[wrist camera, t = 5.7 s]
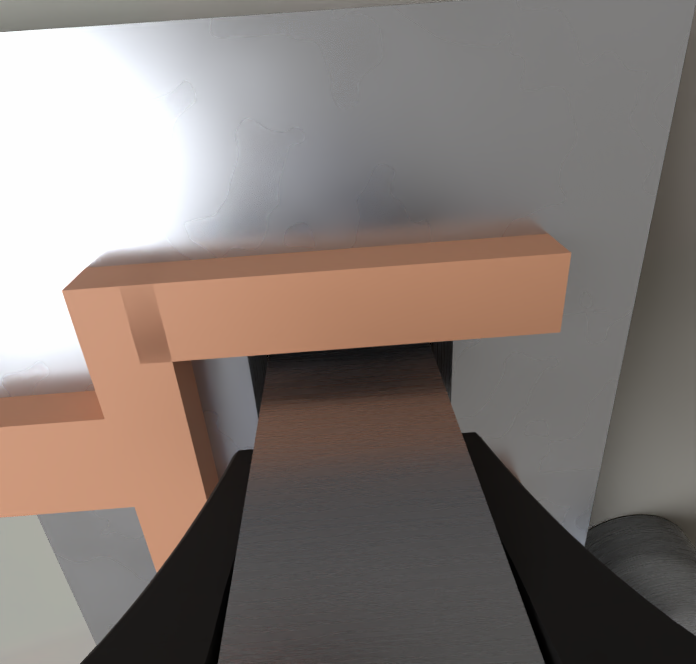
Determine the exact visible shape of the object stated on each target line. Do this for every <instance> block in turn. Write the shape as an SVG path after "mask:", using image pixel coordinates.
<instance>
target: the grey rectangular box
mask: <svg viewBox="0 0 696 664" xmlns="http://www.w3.org/2000/svg"><path fill="white" fill-rule="evenodd" d="M218 664H545V663H544V660H543V657H542V654H541V652H540V649H539V646H538V643H537V640H536V638H535V635H534V632H533V629H532V627H531V624H530V621H529V618H528V616H527V613H526V610H525V607H524V604H523V602H522V599H521V596H520V593H519V591H518V588H517V585H516V582H515V580H514V577H513V574H512V571H511V568H510V566H509V563H508V560H507V557H506V555H505V552H504V549H503V546H502V544H501V541H500V538H499V535H498V532H497V530H496V527H495V524H494V521H493V519H492V516H491V513H490V510H489V508H488V505H487V502H486V499H485V496H484V494H483V491H482V488H481V485H480V483H479V480H478V477H477V474H476V472H475V469H474V466H473V463H472V460H471V458H470V455H469V452H468V449H467V447H466V444H465V441H464V438H463V436H462V433H461V430H460V427H459V424H458V422H457V419H456V416H455V413H454V411H453V408H452V405H451V402H450V400H449V397H448V394H447V391H446V388H445V386H444V383H443V380H442V377H441V375H440V372H439V369H438V366H437V364H436V361H435V358H434V355H433V352H432V350H431V347H430V344H429V342H427V343H414V344H401V345H387V346H374V347H361V348H348V349H334V350H321V351H308V352H295V353H281V354H269V359H268V365H267V371H266V377H265V383H264V389H263V395H262V401H261V407H260V413H259V419H258V425H257V431H256V437H255V443H254V449H253V455H252V461H251V467H250V473H249V479H248V485H247V491H246V497H245V503H244V509H243V515H242V521H241V527H240V533H239V539H238V545H237V551H236V557H235V563H234V569H233V575H232V581H231V587H230V593H229V599H228V605H227V611H226V617H225V623H224V629H223V635H222V641H221V647H220V653H219V659H218Z"/></svg>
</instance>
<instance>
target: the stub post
mask: <svg viewBox="0 0 696 664" xmlns="http://www.w3.org/2000/svg"><path fill="white" fill-rule="evenodd" d="M584 547H585V548H586V549H588V550H589V551H590V552H591V553H592V554H593V555H594V556H595V557H596V558H598V559H599V560H600V561H601V562H602V563H603V564H604V565H605V566H607V567H608V568H609V569H610V570H611V571H612V572H614V573H615V574H616V575H617V576H618V577H619V578H621V579H622V580H623V581H624V582H626V583H627V584H628V585H629V586H630V587H632V588H633V589H634V590H635V591H637V592H638V593H639V594H640V595H642V596H643V597H644V598H645V599H647V600H648V601H649V602H650V603H652V604H653V605H654V606H656V607H657V608H658V609H660V610H661V611H662V612H663V613H665V614H666V615H667V616H669V617H670V618H671V619H673V620H674V621H675V622H677V623H678V624H680V625H681V626H682V627H684V628H685V629H687V630H688V631H690V632H691V633H692V634H694V635H695V636H696V549H695V548H694V547H693V545H692V544H691V542H690V541H689V540H688V538H687V537H686V536H685V534H684V533H683V532H682V530H681V529H680V528H679V527H678V526H677V525H675V524H674V523H672V522H670V521H668V520H666V519H663V518H660V517H655V516H646V515H636V516H627V517H622V518H617V519H614V520H611V521H608V522H605V523H603V524H600V525H598V526H596V527H594V528H592V529H591V530H589V531H588V532H587V537H586V541H585V546H584Z"/></svg>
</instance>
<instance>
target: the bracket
mask: <svg viewBox="0 0 696 664" xmlns="http://www.w3.org/2000/svg"><path fill="white" fill-rule="evenodd" d="M570 259H571V252H570V251H569V250H567V249H566V248H565V247H564V246H563V245H561V244H560V243H559V242H558V241H557V240H555V239H554V238H553V237H552V236H551V235H549V234H537V235H523V236H510V237H496V238H483V239H469V240H455V241H442V242H428V243H415V244H401V245H388V246H374V247H360V248H347V249H333V250H320V251H306V252H293V253H279V254H265V255H252V256H238V257H225V258H211V259H198V260H184V261H171V262H157V263H143V264H130V265H116V266H103V267H89V268H85V269H84V270H83V271H81V272H80V273H79V274H78V275H77V276H76V277H75V278H74V279H73V280H72V281H71V282H70V283H69V284H68V285H67V286H66V287H65V288H64V289H63V290H62V294H63V297H64V300H65V303H66V306H67V309H68V312H69V315H70V317H71V320H72V323H73V326H74V329H75V332H76V335H77V338H78V341H79V344H80V347H81V350H82V353H83V356H84V359H85V362H86V365H87V368H88V371H89V374H90V377H91V380H92V383H93V386H94V389H95V391H81V392H68V393H55V394H42V395H29V396H16V397H2V398H0V517H13V516H25V515H38V514H51V513H64V512H77V511H89V510H102V509H115V508H128V507H135V510H136V513H137V516H138V519H139V522H140V525H141V528H142V531H143V534H144V537H145V540H146V543H147V546H148V549H149V552H150V555H151V558H152V561H153V563H154V566H155V569H156V572H158V571H159V569H160V568H161V567H162V565H163V564H164V563H165V561H166V560H167V559H168V557H169V556H170V554H171V553H172V552H173V550H174V549H175V548H176V546H177V545H178V543H179V542H180V541H181V539H182V538H183V536H184V535H185V533H186V532H187V530H188V529H189V527H190V526H191V524H192V523H193V521H194V520H195V518H196V517H197V515H198V514H199V512H200V511H201V509H202V508H203V506H204V504H205V503H206V501H207V500H208V498H209V496H210V495H211V493H212V492H213V490H214V488H215V487H216V485H217V483H218V482H219V480H218V475H217V471H216V467H215V462H214V458H213V454H212V449H211V445H210V441H209V436H208V432H207V428H206V423H205V419H204V415H203V410H202V406H201V402H200V397H199V393H198V388H197V384H196V380H195V375H194V371H193V367H192V362H191V360H202V359H215V358H228V357H242V356H255V355H268V354H281V353H295V352H308V351H321V350H334V349H348V348H361V347H374V346H387V345H401V344H414V343H427V342H440V341H454V340H467V339H480V338H493V337H506V336H520V335H533V334H546V333H559V332H560V331H561V324H562V317H563V310H564V302H565V295H566V288H567V281H568V273H569V266H570ZM519 482H520V481H519ZM520 483H521V482H520Z"/></svg>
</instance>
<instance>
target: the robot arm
mask: <svg viewBox="0 0 696 664" xmlns="http://www.w3.org/2000/svg"><path fill="white" fill-rule="evenodd" d="M462 436H463V438H464V441H465V444H466V447H467V449H468V452H469V455H470V458H471V460H472V463H473V466H474V469H475V472H476V474H477V477H478V480H479V483H480V485H481V488H482V491H483V494H484V496H485V499H486V502H487V505H488V508H489V510H490V513H491V516H492V519H493V521H494V524H495V527H496V530H497V532H498V535H499V538H500V541H501V544H502V546H503V549H504V552H505V555H506V557H507V560H508V563H509V566H510V568H511V571H512V574H513V577H514V580H515V582H516V585H517V588H518V591H519V593H520V596H521V599H522V602H523V604H524V607H525V610H526V613H527V616H528V618H529V621H530V624H531V627H532V629H533V632H534V635H535V638H536V640H537V643H538V646H539V649H540V652H541V654H542V657H543V660H544V663H545V664H696V636H695V635H694V634H692V633H691V632H690V631H688V630H687V629H685V628H684V627H682V626H681V625H680V624H678V623H677V622H675V621H674V620H673V619H671V618H670V617H669V616H667V615H666V614H665V613H663V612H662V611H661V610H660V609H658V608H657V607H656V606H654V605H653V604H652V603H650V602H649V601H648V600H647V599H645V598H644V597H643V596H642V595H640V594H639V593H638V592H637V591H635V590H634V589H633V588H632V587H630V586H629V585H628V584H627V583H626V582H624V581H623V580H622V579H621V578H619V577H618V576H617V575H616V574H615V573H614V572H612V571H611V570H610V569H609V568H608V567H607V566H605V565H604V564H603V563H602V562H601V561H600V560H599V559H598V558H596V557H595V556H594V555H593V554H592V553H591V552H590V551H589V550H588V549H586V548H585V547H584V546H583V545H582V544H581V543H580V542H579V541H578V540H577V539H576V538H575V537H574V536H572V535H571V534H570V533H569V532H568V531H567V530H566V529H565V528H564V527H563V526H562V525H561V524H560V523H559V522H558V521H557V520H556V519H555V518H554V517H553V516H552V515H551V514H550V513H549V512H548V511H547V510H546V509H545V508H544V507H543V506H542V505H541V504H540V503H539V502H538V501H537V500H536V499H535V498H534V497H533V496H532V495H531V494H530V493H529V491H528V490H527V489H526V488H525V487H524V486H523V485H522V484H521V483H520V482H519V481H518V480H517V478H516V477H515V476H514V475H513V474H512V473H511V472H510V471H509V469H508V468H507V467H506V466H505V465H504V464H503V463H502V462H501V460H500V459H499V458H498V457H497V456H496V455H495V453H494V452H493V451H492V450H491V449H490V447H489V446H488V445H487V444H486V443H485V441H484V440H483V439H482V438H481V437H480V436H479V435H478V434H477V433H476V432H468V433H462ZM252 455H253V449H248V450H238V451H237V452H236V453H235V454H234V455H233V457H232V459H231V461H230V462H229V464H228V466H227V468H226V470H225V471H224V473H223V475H222V476H221V478H220V480H219V482H218V483H217V485H216V487H215V488H214V490H213V492H212V493H211V495H210V496H209V498H208V500H207V501H206V503H205V504H204V506H203V508H202V509H201V511H200V512H199V514H198V515H197V517H196V518H195V520H194V521H193V523H192V524H191V526H190V527H189V529H188V530H187V532H186V533H185V535H184V536H183V538H182V539H181V541H180V542H179V543H178V545H177V546H176V548H175V549H174V550H173V552H172V553H171V554H170V556H169V557H168V559H167V560H166V561H165V563H164V564H163V565H162V567H161V568H160V569H159V571H158V572H157V573H156V575H155V576H154V577H153V579H152V580H151V581H150V583H149V584H148V585H147V587H146V588H145V589H144V590H143V592H142V593H141V594H140V595H139V597H138V598H137V599H136V600H135V602H134V603H133V604H132V605H131V607H130V608H129V609H128V610H127V611H126V613H125V614H124V615H123V616H122V617H121V619H120V620H119V621H118V622H117V623H116V624H115V626H114V627H113V628H112V629H111V630H110V631H109V632H108V634H107V635H106V636H105V637H104V638H103V639H102V640H101V642H100V643H99V644H98V645H97V646H96V647H95V648H94V649H93V650H92V651H91V652H90V653H89V655H88V656H87V657H86V658H85V659H84V660H83V661H82V662H81V663H80V664H218V659H219V653H220V647H221V641H222V635H223V629H224V623H225V617H226V611H227V605H228V599H229V593H230V587H231V581H232V575H233V569H234V563H235V557H236V551H237V545H238V539H239V533H240V527H241V521H242V515H243V509H244V503H245V497H246V491H247V485H248V479H249V473H250V467H251V461H252Z"/></svg>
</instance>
